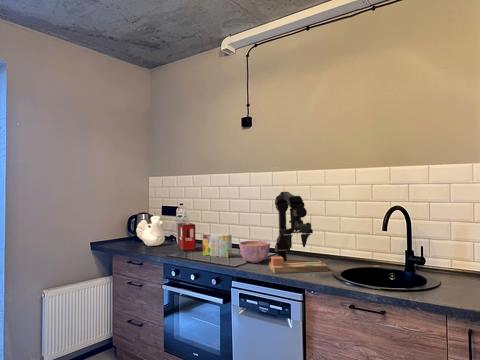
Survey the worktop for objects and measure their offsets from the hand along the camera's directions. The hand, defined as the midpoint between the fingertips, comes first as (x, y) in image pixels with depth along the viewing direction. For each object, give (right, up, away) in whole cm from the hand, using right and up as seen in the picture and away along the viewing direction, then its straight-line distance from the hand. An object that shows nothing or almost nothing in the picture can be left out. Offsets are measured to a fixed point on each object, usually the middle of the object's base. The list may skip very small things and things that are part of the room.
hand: (297, 247), depth 180 cm
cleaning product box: (-71, -17, +72) cm, 103 cm away
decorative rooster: (-105, -18, +97) cm, 145 cm away
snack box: (-47, -16, +49) cm, 70 cm away
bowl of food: (-22, -15, +30) cm, 40 cm away
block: (-10, -12, +12) cm, 19 cm away
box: (+2, -14, +9) cm, 17 cm away
